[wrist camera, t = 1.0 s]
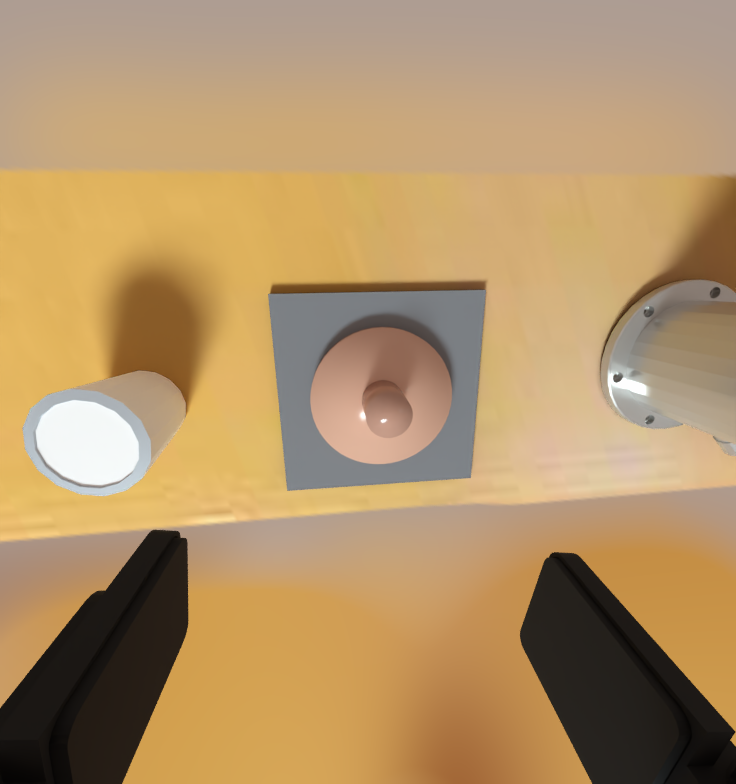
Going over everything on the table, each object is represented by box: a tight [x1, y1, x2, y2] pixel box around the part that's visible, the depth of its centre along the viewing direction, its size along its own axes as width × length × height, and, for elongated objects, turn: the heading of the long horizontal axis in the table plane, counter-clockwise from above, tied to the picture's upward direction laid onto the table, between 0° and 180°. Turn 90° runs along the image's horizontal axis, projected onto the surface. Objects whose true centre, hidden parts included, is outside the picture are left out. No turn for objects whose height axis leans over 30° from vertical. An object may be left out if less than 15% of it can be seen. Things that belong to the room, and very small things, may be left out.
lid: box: [310, 327, 452, 464], centre depth 26 cm, size 11×11×4 cm
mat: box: [268, 290, 486, 491], centre depth 28 cm, size 16×16×1 cm
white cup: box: [23, 370, 186, 496], centre depth 23 cm, size 7×7×7 cm
